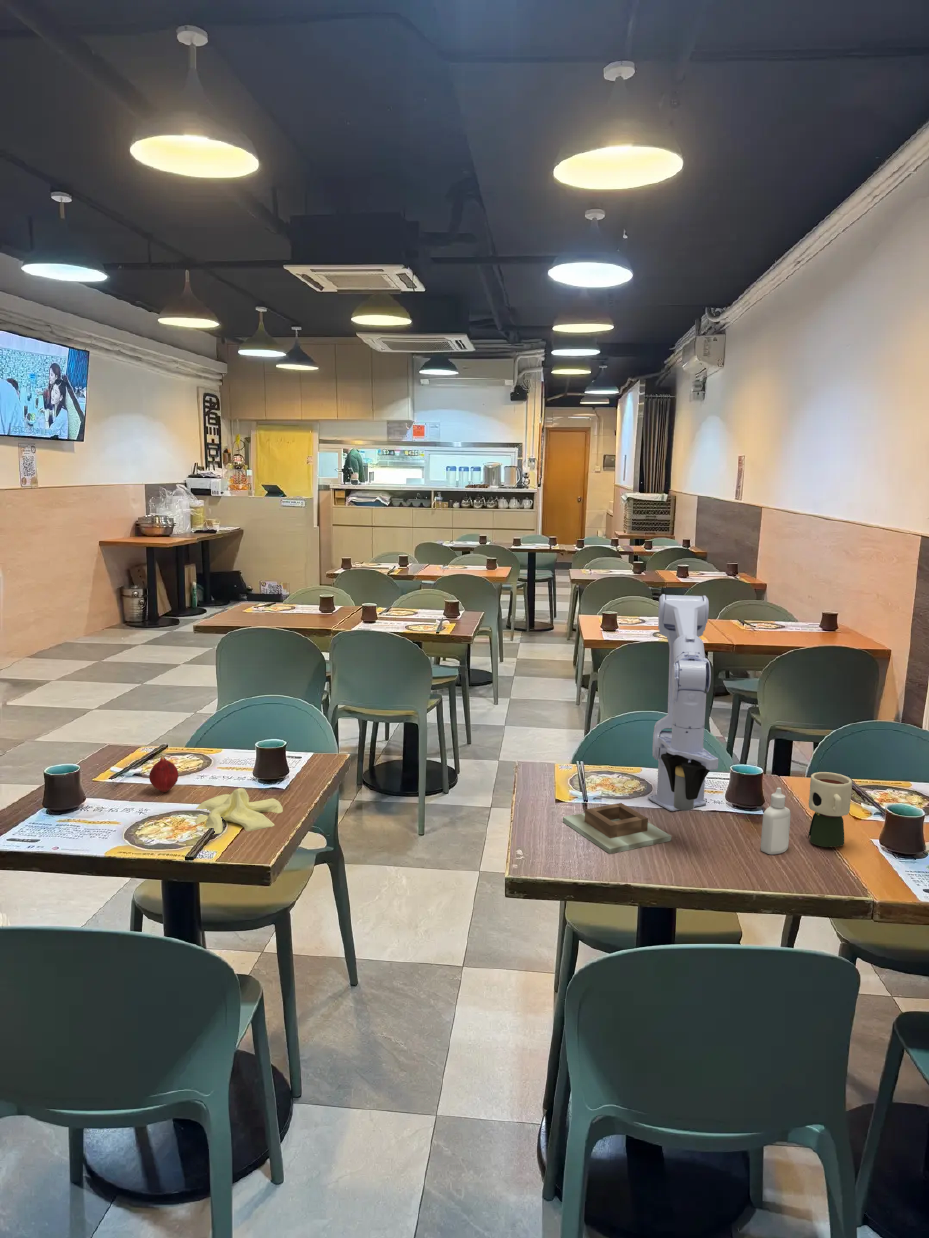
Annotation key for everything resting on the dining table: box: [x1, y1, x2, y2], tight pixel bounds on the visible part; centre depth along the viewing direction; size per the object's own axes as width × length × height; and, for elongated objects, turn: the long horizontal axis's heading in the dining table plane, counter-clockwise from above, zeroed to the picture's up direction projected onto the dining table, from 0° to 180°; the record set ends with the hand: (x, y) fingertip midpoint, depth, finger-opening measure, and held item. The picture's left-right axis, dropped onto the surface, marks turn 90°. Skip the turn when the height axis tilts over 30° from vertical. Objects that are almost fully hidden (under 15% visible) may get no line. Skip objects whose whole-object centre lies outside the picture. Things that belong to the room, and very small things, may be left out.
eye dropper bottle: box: [760, 787, 791, 855], centre depth 154 cm, size 4×6×12 cm
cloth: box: [193, 787, 284, 835], centre depth 166 cm, size 22×19×6 cm
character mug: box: [807, 771, 853, 848], centre depth 157 cm, size 11×7×13 cm, turn 172°
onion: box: [148, 755, 179, 793], centre depth 179 cm, size 6×6×8 cm
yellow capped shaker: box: [674, 765, 695, 812], centre depth 156 cm, size 4×4×8 cm
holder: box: [562, 802, 672, 855], centre depth 162 cm, size 14×16×4 cm
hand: (684, 794), depth 156 cm, fingers closed on yellow capped shaker, 4 cm apart
